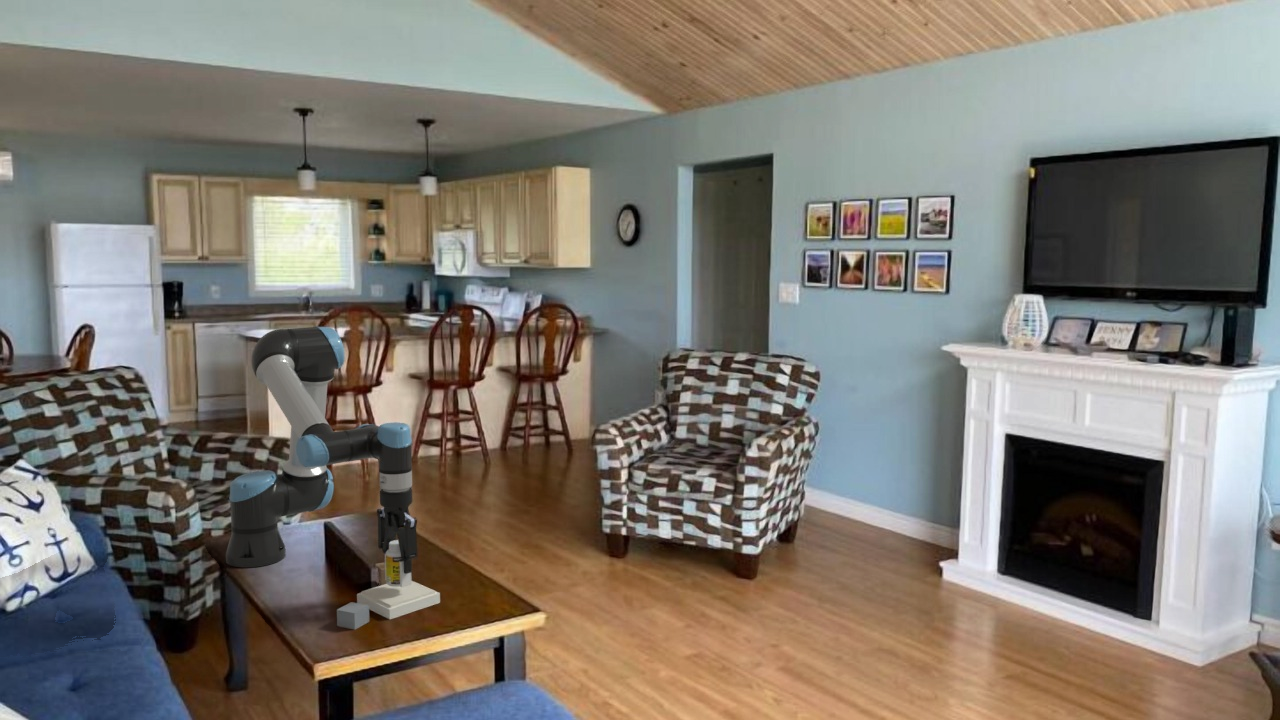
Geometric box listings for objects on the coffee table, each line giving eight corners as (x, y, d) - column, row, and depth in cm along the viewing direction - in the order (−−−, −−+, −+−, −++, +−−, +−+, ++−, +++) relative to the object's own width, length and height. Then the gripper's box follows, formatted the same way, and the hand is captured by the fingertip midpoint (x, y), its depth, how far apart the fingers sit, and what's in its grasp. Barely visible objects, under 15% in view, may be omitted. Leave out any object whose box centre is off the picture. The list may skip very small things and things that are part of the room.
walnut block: (375, 582, 241) (375, 563, 240) (391, 579, 243) (390, 561, 242) (381, 588, 237) (381, 569, 236) (397, 585, 239) (397, 566, 238)
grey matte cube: (337, 626, 214) (336, 609, 213) (351, 618, 218) (351, 602, 218) (355, 630, 212) (354, 613, 211) (369, 622, 217) (368, 605, 216)
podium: (357, 603, 227) (356, 591, 227) (406, 587, 237) (406, 576, 237) (389, 619, 218) (389, 607, 217) (440, 602, 228) (439, 590, 228)
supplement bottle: (390, 589, 223) (389, 547, 222) (383, 582, 228) (382, 541, 226) (413, 584, 226) (412, 543, 225) (405, 577, 231) (404, 537, 229)
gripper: (360, 484, 227) (363, 576, 230) (404, 498, 215) (407, 596, 218) (387, 478, 233) (390, 569, 236) (432, 492, 220) (434, 587, 223)
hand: (398, 582), depth 227 cm, fingers closed on supplement bottle, 5 cm apart
